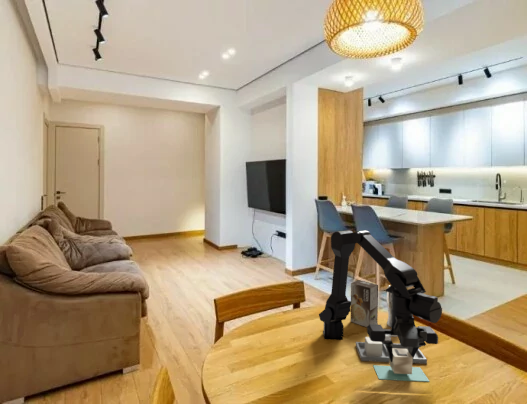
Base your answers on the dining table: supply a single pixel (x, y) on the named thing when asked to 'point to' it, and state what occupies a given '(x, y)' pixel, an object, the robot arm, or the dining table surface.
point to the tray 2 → (418, 356)
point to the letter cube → (401, 361)
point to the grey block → (373, 347)
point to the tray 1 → (364, 357)
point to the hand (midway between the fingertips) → (400, 361)
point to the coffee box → (364, 303)
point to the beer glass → (389, 307)
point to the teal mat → (388, 374)
